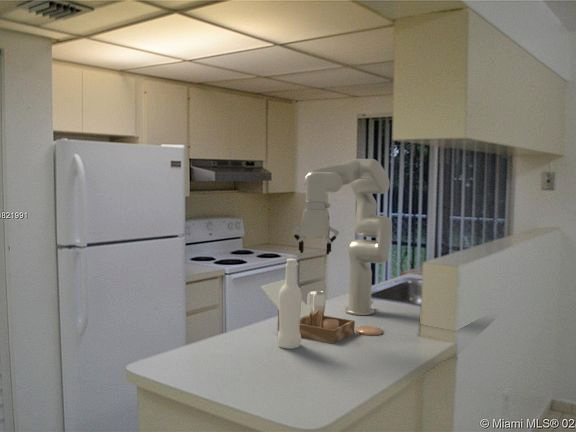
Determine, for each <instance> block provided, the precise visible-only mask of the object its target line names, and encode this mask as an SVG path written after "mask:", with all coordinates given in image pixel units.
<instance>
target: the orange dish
mask: <svg viewBox="0 0 576 432" xmlns="http://www.w3.org/2000/svg"><path fill="white" fill-rule="evenodd" d="M355 332H356V333H357V334H358V335H362V336H370V337H373V336H380V335H382V334H383V329H381V328H379V327H377V326H373V325H372V326H370V325H364V326H363V325H361V326H357V327H356V328H355Z"/></svg>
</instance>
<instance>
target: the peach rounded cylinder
mask: <svg viewBox="0 0 576 432" xmlns="http://www.w3.org/2000/svg"><path fill="white" fill-rule="evenodd" d="M337 327H339V321H338V320H335V319H325V320H323V328H326V329H331V330H333V329H335V328H337Z"/></svg>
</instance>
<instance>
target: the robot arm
mask: <svg viewBox="0 0 576 432" xmlns="http://www.w3.org/2000/svg"><path fill="white" fill-rule="evenodd" d="M303 182H304V186H305V209H304V210H303V212H302V218H301V224H300V225H299V226H297V227H295V228H293V229H291V233H292V235H293V237H294V239H296V241H297V242H298V251H300V252H299V253H300V254H303V253H304V250H305V249H304V248H305V247H304V246H305V245H304V244H305V243H304V239H305V238H309V239H310V238H314V239H325V240H326V242H327V243H326V255H330V253H331V252H332V243H333V242H334V241H335V240H336V239H337V238H338V236H339V235H340V231H339V230H338V229H336V228H334V227H332V226H331V225H330V212H329V210H327V209H328V208H331V203H328V201H327V197H328V196H327V195H328V194H327V193H332V194H333V193H337V192H339V191H340V190H341V188H342V187H343V186H346V185H349V186H350V188H351V190H352V192H353V194H354V197H355V200H356V212H355V222H354V232H355V235H357V236H360V237H366V238H377V240H371V239H359V238H358V239H353V240H352V241H351V242H349V245H348V247H347V248H348V249H347V251H348V259H349V284H348V285H349V287H348V306H347V307H345V308H344V312H345V313H347V314H349V315H355V316H368V315H369V316H370V315H374V314H375V309H374V308H372V305H373V304H374V301H373V300H372V283H373V281H372V280H373V279H372V278H373V271H372V268H371V267H370V265H369V264H371V263H372V264H380V265H381V264H386V263H387V261H388V260H389V256H390V249H391V240H392V231H393V226H392V221H391V219H390V218H389V217H388V216H385V215H377V208H378V204H377V201H376V199H375V197H374V196H373V195H372V194H376V195H377V194H380V195H382V194H385V193H387V192H388V190H389V189H390V186H391V185H390V179H389V176H388V173H386V171H385V169H384V167H383V166H382V165H381V163H380V162H379V161H378V160H376V159H374V158H353V159H350V160H347V161H345V162H343V163H340V164H335V165H331V166H326V167H325V166H324V167H319V168H316V169H313V170H312V171H309V172H308V173H307V174H306V175H305V177H304V181H303ZM298 231H300V234H301V235H300V236H299V234H298ZM330 232H331V233H333V236H332V237H330V234H331V233H330Z"/></svg>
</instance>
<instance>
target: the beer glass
mask: <svg viewBox="0 0 576 432" xmlns="http://www.w3.org/2000/svg"><path fill="white" fill-rule="evenodd" d="M306 298H307V299H306V305H307V313H308V321H309V323H308V325H310V326H315V327H320V328H323V317H324V316H325V311H326V304H327V303H326V302H327V301H326V292H325V291H321V290H311V291H308V292H307V297H306Z"/></svg>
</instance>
